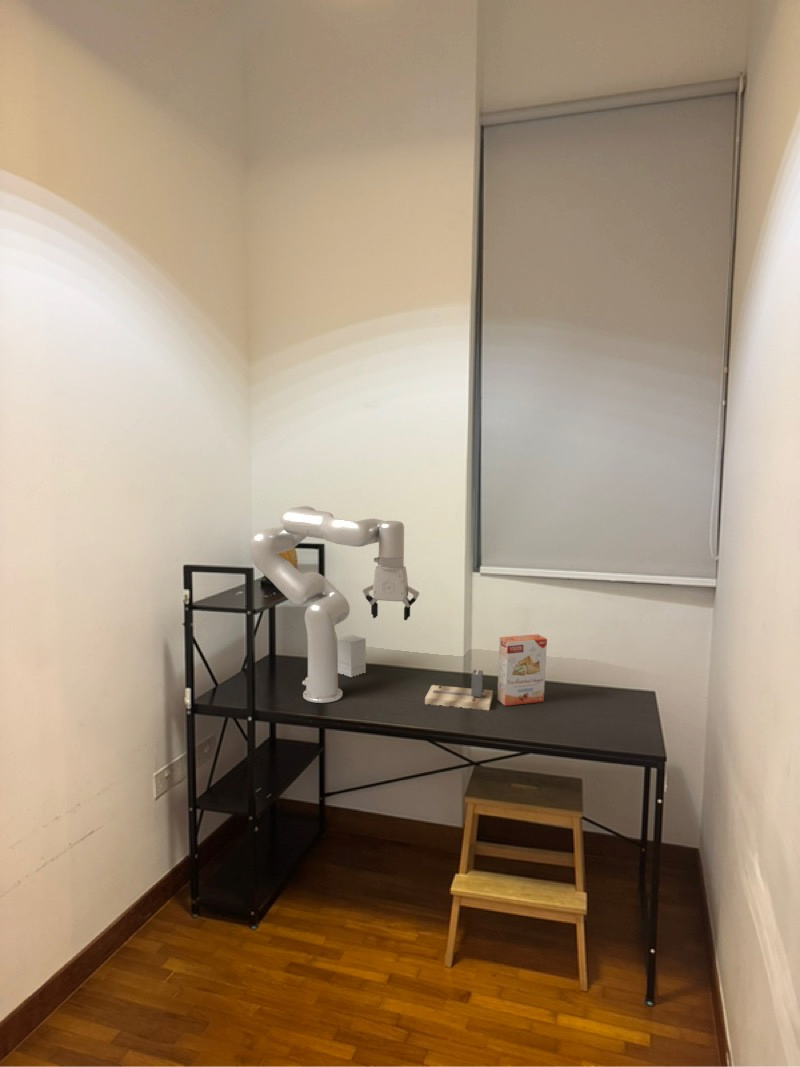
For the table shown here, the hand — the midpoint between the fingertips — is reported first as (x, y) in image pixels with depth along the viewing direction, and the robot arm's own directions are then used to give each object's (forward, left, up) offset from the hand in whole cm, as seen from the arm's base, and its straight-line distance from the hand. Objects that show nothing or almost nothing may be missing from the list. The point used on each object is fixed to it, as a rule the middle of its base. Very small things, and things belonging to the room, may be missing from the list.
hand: (390, 618), depth 208 cm
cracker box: (+26, +33, -28) cm, 51 cm away
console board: (+12, +20, -28) cm, 37 cm away
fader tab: (+16, +23, -26) cm, 38 cm away
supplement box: (-32, +14, -28) cm, 45 cm away
